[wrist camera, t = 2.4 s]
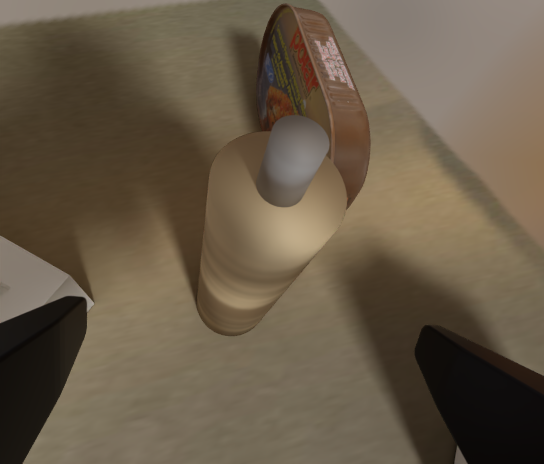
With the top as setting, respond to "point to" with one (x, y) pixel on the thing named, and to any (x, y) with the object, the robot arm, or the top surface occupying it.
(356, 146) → the tin
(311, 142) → the tall beige lotion bottle
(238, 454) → the top surface
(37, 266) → the tool holder
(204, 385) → the top surface
